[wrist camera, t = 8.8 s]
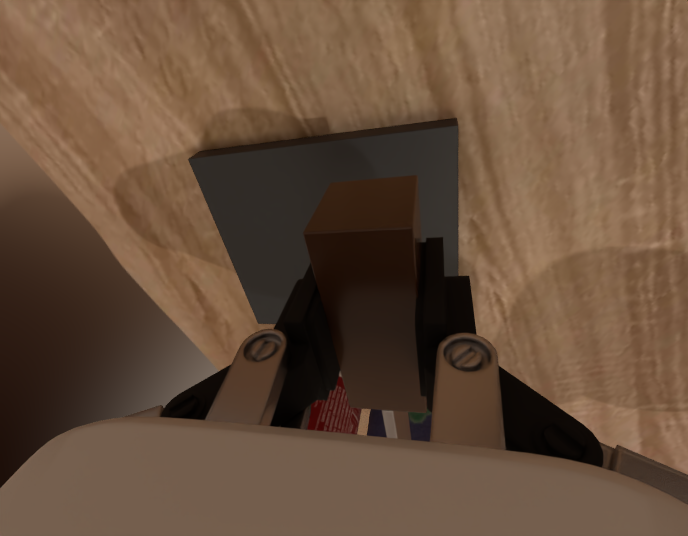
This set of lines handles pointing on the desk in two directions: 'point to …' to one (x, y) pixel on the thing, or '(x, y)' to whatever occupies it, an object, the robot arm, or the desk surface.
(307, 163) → the board
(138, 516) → the robot arm
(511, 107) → the desk surface
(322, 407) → the soda can
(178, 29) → the desk surface
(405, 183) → the knife
